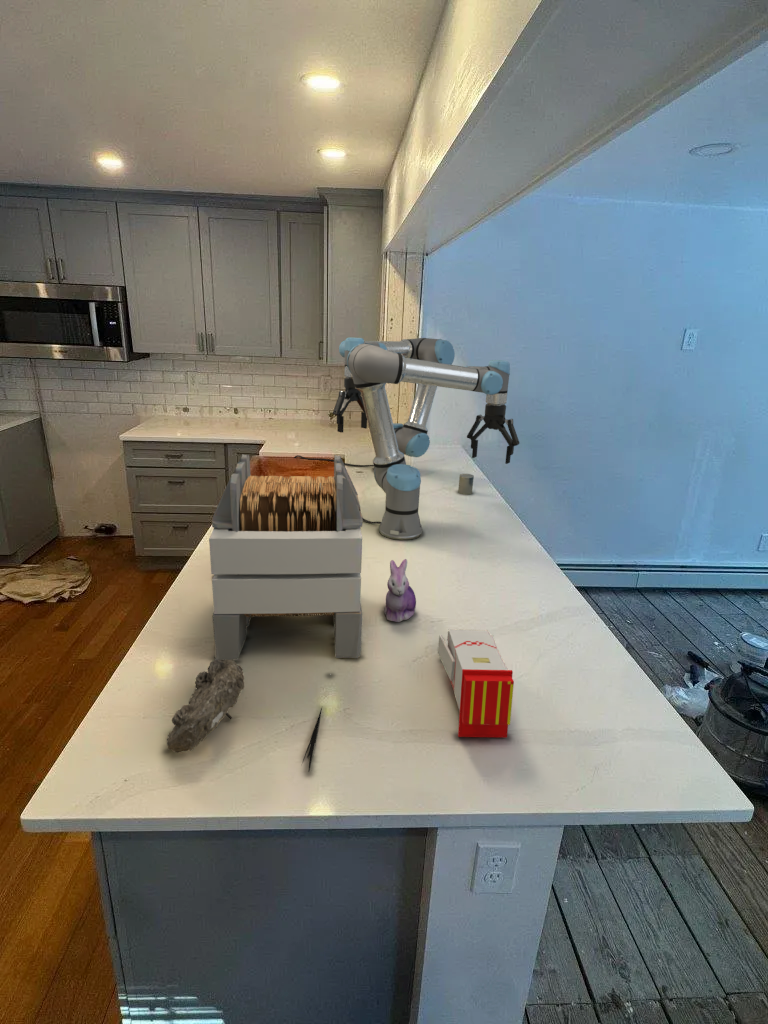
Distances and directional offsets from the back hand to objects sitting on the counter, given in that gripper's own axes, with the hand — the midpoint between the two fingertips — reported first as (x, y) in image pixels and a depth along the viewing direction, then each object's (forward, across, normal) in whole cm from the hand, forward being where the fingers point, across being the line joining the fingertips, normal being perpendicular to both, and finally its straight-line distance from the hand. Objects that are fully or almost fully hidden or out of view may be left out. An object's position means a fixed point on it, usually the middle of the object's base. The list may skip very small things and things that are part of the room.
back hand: (352, 430), depth 235 cm
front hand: (+4, +19, -56) cm, 59 cm away
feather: (+26, -105, -99) cm, 147 cm away
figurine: (+26, -64, -84) cm, 108 cm away
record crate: (+26, -86, -67) cm, 113 cm away
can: (+26, +37, -34) cm, 57 cm away
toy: (+26, -77, -115) cm, 140 cm away
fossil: (+26, -119, -84) cm, 148 cm away
